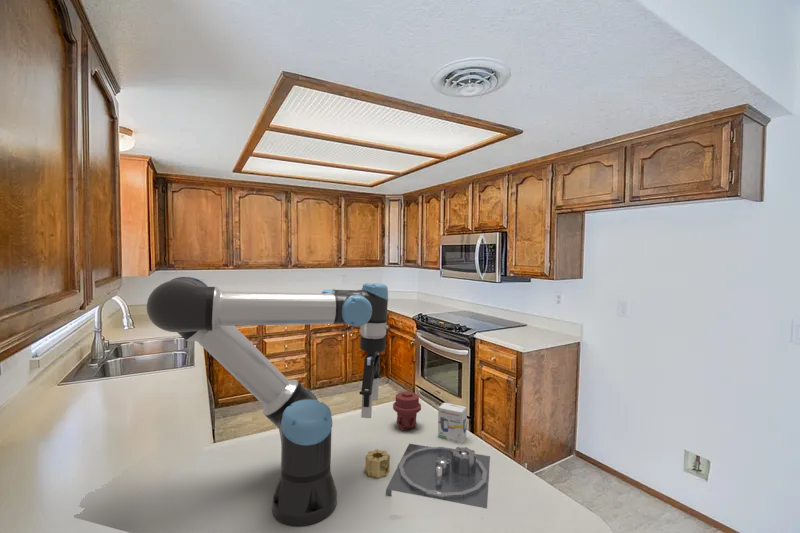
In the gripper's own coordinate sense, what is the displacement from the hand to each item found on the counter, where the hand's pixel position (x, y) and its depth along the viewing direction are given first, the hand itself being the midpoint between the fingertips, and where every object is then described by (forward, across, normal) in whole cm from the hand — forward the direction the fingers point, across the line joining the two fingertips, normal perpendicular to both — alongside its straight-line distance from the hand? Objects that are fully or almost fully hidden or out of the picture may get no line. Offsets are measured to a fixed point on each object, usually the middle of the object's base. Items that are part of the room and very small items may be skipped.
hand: (370, 408), depth 111 cm
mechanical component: (+16, +25, -10) cm, 31 cm away
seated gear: (+14, -3, -28) cm, 31 cm away
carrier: (+16, -5, -22) cm, 27 cm away
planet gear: (+16, -4, -3) cm, 17 cm away
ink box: (+16, +16, -26) cm, 34 cm away
